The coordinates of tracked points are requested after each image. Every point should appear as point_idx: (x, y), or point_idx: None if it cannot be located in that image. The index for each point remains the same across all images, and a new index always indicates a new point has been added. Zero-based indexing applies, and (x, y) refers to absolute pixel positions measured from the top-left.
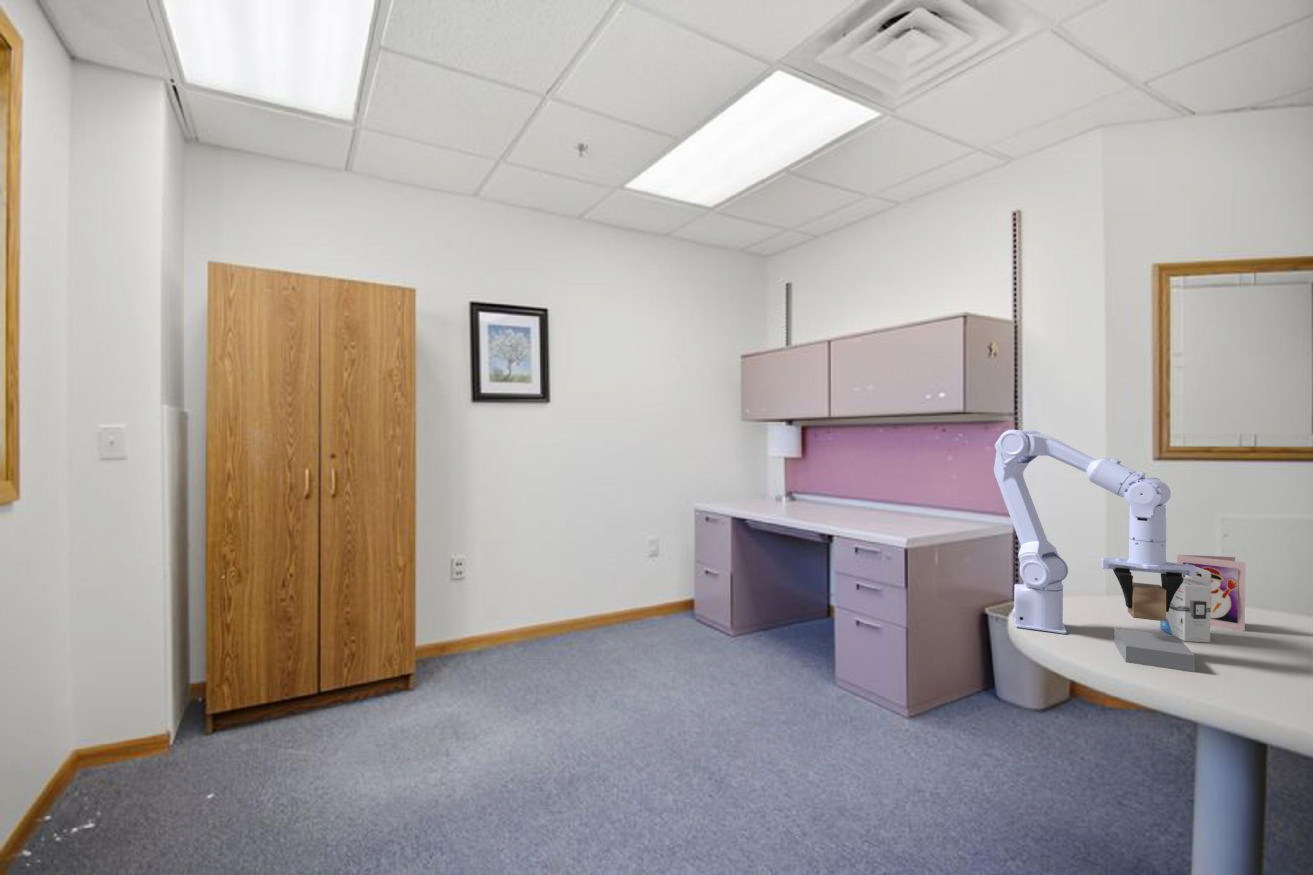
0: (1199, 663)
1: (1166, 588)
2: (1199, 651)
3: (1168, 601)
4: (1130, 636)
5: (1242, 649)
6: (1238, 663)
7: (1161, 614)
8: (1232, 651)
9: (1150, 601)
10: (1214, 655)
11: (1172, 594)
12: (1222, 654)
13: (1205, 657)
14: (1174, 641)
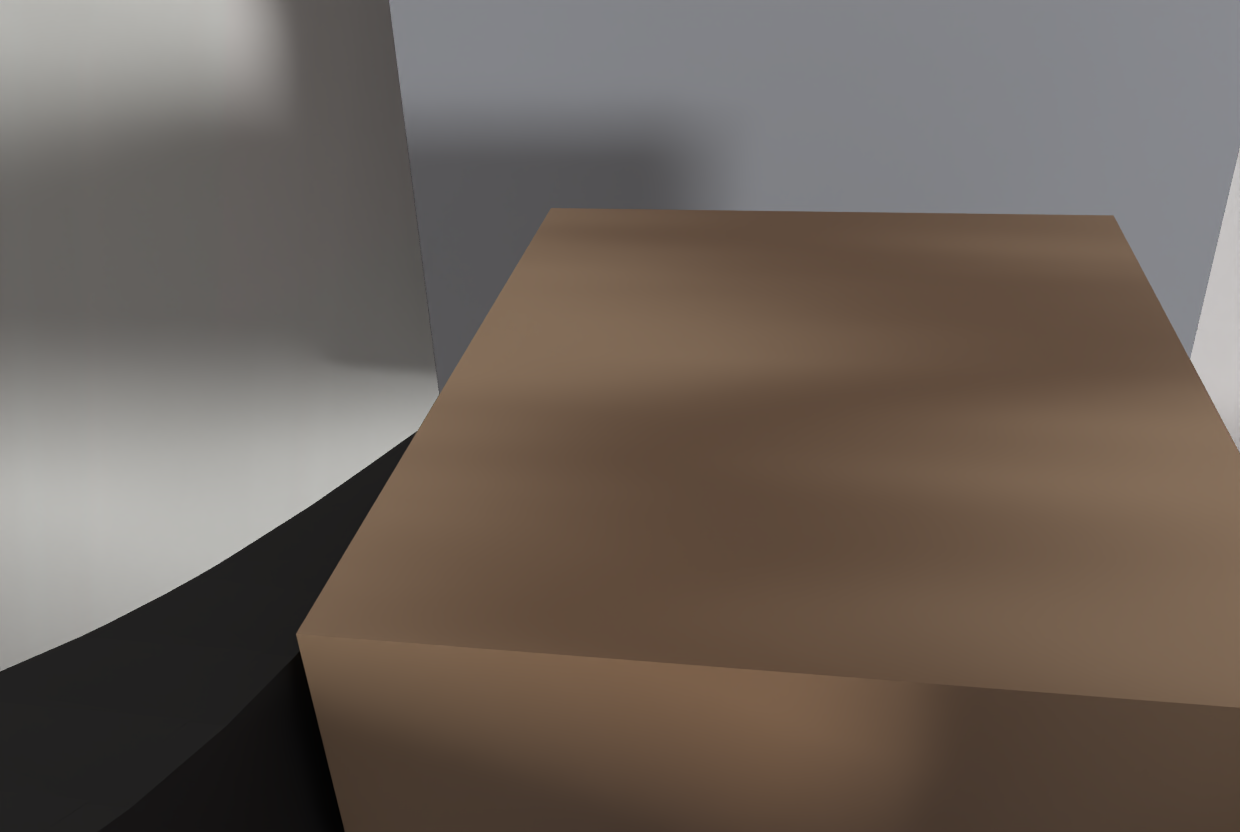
0: (333, 5)
1: (267, 749)
2: (305, 465)
3: (374, 500)
4: (1066, 159)
5: (14, 661)
6: (15, 224)
7: (598, 267)
8: (72, 579)
9: (789, 414)
10: (194, 394)
11: (197, 596)
12: (136, 457)
13: (267, 284)
14: (506, 190)
